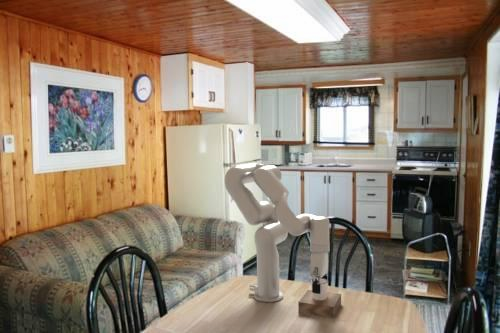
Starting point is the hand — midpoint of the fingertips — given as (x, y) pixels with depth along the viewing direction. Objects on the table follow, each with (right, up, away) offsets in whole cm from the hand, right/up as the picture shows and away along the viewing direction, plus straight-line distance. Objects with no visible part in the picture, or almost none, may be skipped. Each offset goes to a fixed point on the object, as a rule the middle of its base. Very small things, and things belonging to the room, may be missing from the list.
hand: (320, 289), depth 180 cm
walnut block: (0, -9, +1) cm, 9 cm away
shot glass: (0, -4, +1) cm, 4 cm away
